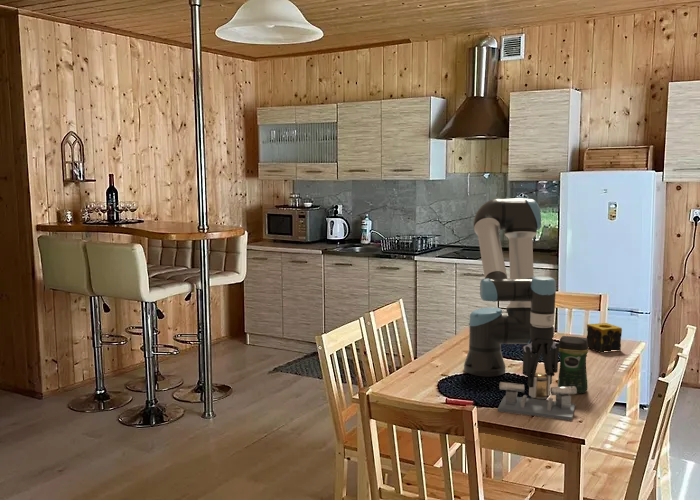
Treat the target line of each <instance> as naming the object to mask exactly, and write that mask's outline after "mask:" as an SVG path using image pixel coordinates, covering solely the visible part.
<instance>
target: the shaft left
mask: <svg viewBox="0 0 700 500" xmlns="http://www.w3.org/2000/svg"><path fill="white" fill-rule="evenodd" d="M525 386H526V385H525V383H524V384H523V383H516V382H515V383H514V382H508V381H507V382H505V381H499V386H498V387H499V388H498V389H499V390H501V391H505V396H506V404H508V405H516V403H517V397H518V396H519V395H518V394H519V393H520V392H521V393H525ZM518 392H519V393H518Z"/></svg>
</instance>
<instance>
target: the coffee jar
mask: <svg viewBox="0 0 700 500" xmlns="http://www.w3.org/2000/svg"><path fill="white" fill-rule="evenodd" d="M558 343H559V344H560V347H559V350H558V353H559V357H560V358H559V360H560V361H559V369H558V378H557V387H569V386H575V387H576V389H577V393H576V394H584V393H587V391H588V389H589V388H588V387H589V386H588V374H587V355H588V353H589V348H588V341H587V337H580V336H572V335H570V336H569V335H568V336H567V335H562V336H561V337H560V339H559V342H558Z"/></svg>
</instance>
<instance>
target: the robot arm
mask: <svg viewBox="0 0 700 500" xmlns="http://www.w3.org/2000/svg"><path fill="white" fill-rule="evenodd" d="M540 209H541V208H540V206H539V204H538V202H537V201H536V200H535V199H533V198H493V199H490V200H488V201H487V202H485V203H483V204H482V205H481V206H480V207H479V208H478V210H477V212H476V213H475V216H474V219H473V230H474V231H473V232H474V234H476V236H478V238H477V239H478V244H479V252H480V257H481V264H482V269H483V276H484V278H482V279H481V280H480V283H479V295H480V296H479V297H480V299H481V300H482V301H486V302H493V303H494V302H510V303H509V304H508V305H507V306H506V311H504V312H503V311H502V310H503V309H502V308H499V307H493V306H491V307H483V308H478V309H475V310H472V311H471V313H470V314H469V319H468V320H469V322H468V326H469V330H468V333H469V335H468V336H469V337H468V338H469V339H468V351H467V354H466V357H465V361H464V364H463V372H465V373H466V374H469V375H471V376H477V377H487V378H488V377H499V376H501V375H502V376H503V375H504V374H506V364H505V361H504V357H503V353H502V345H522V346H521V350H522V352H523V354H522V355H523V356H522V375H524V376H525V377H527V386H528V396H529V397H530V398H531V397H534V398H536V385H537V378H536V377H535V373H537V370H538V369H537V368H538V364H539V359H540V358H541V356H542V360H543V367H544V372H545V373H544V374H546V375H547V376H548V379H547V397H548V396H550V394H551V385H552V384H553V382H552V380H553V377H554V376H555V374H557V373H558V372H559V369H558V368H559V347H560V344H559V342H556V341H554V340H553V338H554V336H555V327H554V325H555V311H556V310H555V309H556V292H557V286H556V283H557V282H556V279H555V278H553V277H550V276H534V252H533V250H534V246H533V239H534V238H535V237H536V236H537V233H538V232H537V231H538V230H540V229H541V227H542V214H541V213H542V212H541V210H540ZM501 230H503V231H504V236H505V237H506V238H508V252H509V278H508V274H507V268H506V264H505V259H504V253H503V252H504V251H503V247H502V243H501V242H502V241H501V237H500V231H501Z"/></svg>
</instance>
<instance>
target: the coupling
mask: <svg viewBox="0 0 700 500" xmlns="http://www.w3.org/2000/svg"><path fill="white" fill-rule="evenodd" d="M535 377H536V378H537V385H536V398H534V397H531V396H530V398H531V399H540V400H548V396H547V379H548V376H547V375H546V373H543V372H536V373H535Z"/></svg>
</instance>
